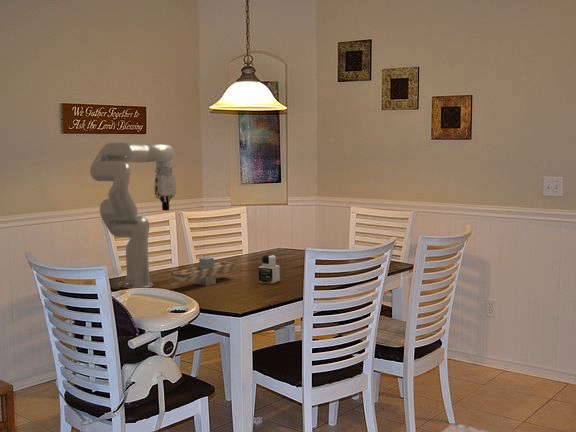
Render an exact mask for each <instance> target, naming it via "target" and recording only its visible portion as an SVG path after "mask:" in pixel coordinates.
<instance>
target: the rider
mask: <svg viewBox="0 0 576 432" xmlns="http://www.w3.org/2000/svg"><path fill="white" fill-rule="evenodd" d="M198 261H199V265H198V266H200V270H205V269H207V268H214V263H215V260H214V257H209V256H208V257H207V256H205V257H202V258H199V259H198Z"/></svg>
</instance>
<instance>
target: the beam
mask: <svg viewBox="0 0 576 432" xmlns="http://www.w3.org/2000/svg"><path fill="white" fill-rule="evenodd" d="M236 264H237V263H236V262H228V261H219V262H214V268H207V269H205V270H200V265H197V266H195V267H191V268H187V269H181V270H177V271H173V272H170V276H171V277H170V279H171V281H175V282H181V283H187V282H192V281H194V280H196V279H200V278H204V277H209V276H213V275H216V276H217V275H221V274H224V273H229V272H233V271H236V267H237V266H236Z"/></svg>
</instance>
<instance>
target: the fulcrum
mask: <svg viewBox="0 0 576 432" xmlns="http://www.w3.org/2000/svg"><path fill="white" fill-rule="evenodd" d="M216 279H217V275H213V276H209V277H204V278H200V279H196V280H193V284H194V285H198V286H199V285H200V286H204V287H208V286H212V285H216V284H217V282H216V281H217V280H216Z"/></svg>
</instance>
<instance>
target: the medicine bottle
mask: <svg viewBox="0 0 576 432" xmlns="http://www.w3.org/2000/svg"><path fill="white" fill-rule="evenodd" d="M261 259H262V260H261V262H262V263H261V264H262V265H261V266H259V267H258V283H262V284H263V283H264V284H275V283H277V282H280V281H281V275H280V274H281V273H280V272H281V271H280V269H281V266H280V265H279V264H277V263H276V262H277V261H276V260H277V258H276V256H275V255H274V254H265V255H262V258H261Z"/></svg>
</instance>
